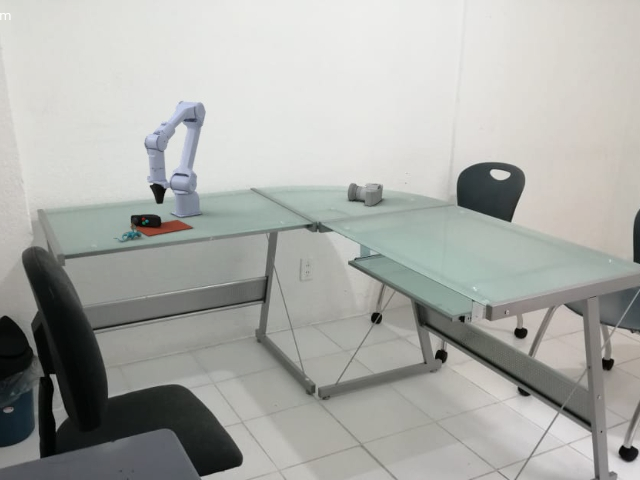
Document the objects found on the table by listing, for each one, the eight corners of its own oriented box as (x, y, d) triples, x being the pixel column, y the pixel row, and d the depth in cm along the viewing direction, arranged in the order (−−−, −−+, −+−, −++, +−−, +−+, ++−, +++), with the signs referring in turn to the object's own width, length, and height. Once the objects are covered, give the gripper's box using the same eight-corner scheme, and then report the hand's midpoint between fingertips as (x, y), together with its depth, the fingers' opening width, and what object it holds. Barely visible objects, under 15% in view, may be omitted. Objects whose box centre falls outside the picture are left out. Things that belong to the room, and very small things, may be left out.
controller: (140, 211, 233) (126, 215, 224) (169, 213, 229) (156, 217, 220) (141, 223, 234) (127, 226, 225) (169, 225, 231) (156, 228, 221)
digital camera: (359, 203, 281) (362, 181, 279) (386, 207, 273) (389, 185, 271) (341, 202, 268) (344, 179, 266) (369, 206, 260) (373, 182, 258)
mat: (177, 220, 236) (177, 219, 235) (192, 228, 227) (192, 227, 227) (134, 228, 225) (134, 227, 225) (148, 236, 217) (148, 235, 216)
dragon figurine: (132, 241, 207) (144, 227, 212) (113, 232, 207) (125, 218, 212) (131, 253, 212) (142, 239, 217) (112, 244, 212) (124, 230, 217)
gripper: (138, 165, 226) (141, 201, 231) (156, 172, 215) (158, 209, 221) (156, 163, 230) (158, 198, 235) (174, 170, 219) (176, 206, 225)
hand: (159, 203), depth 228 cm, fingers closed
